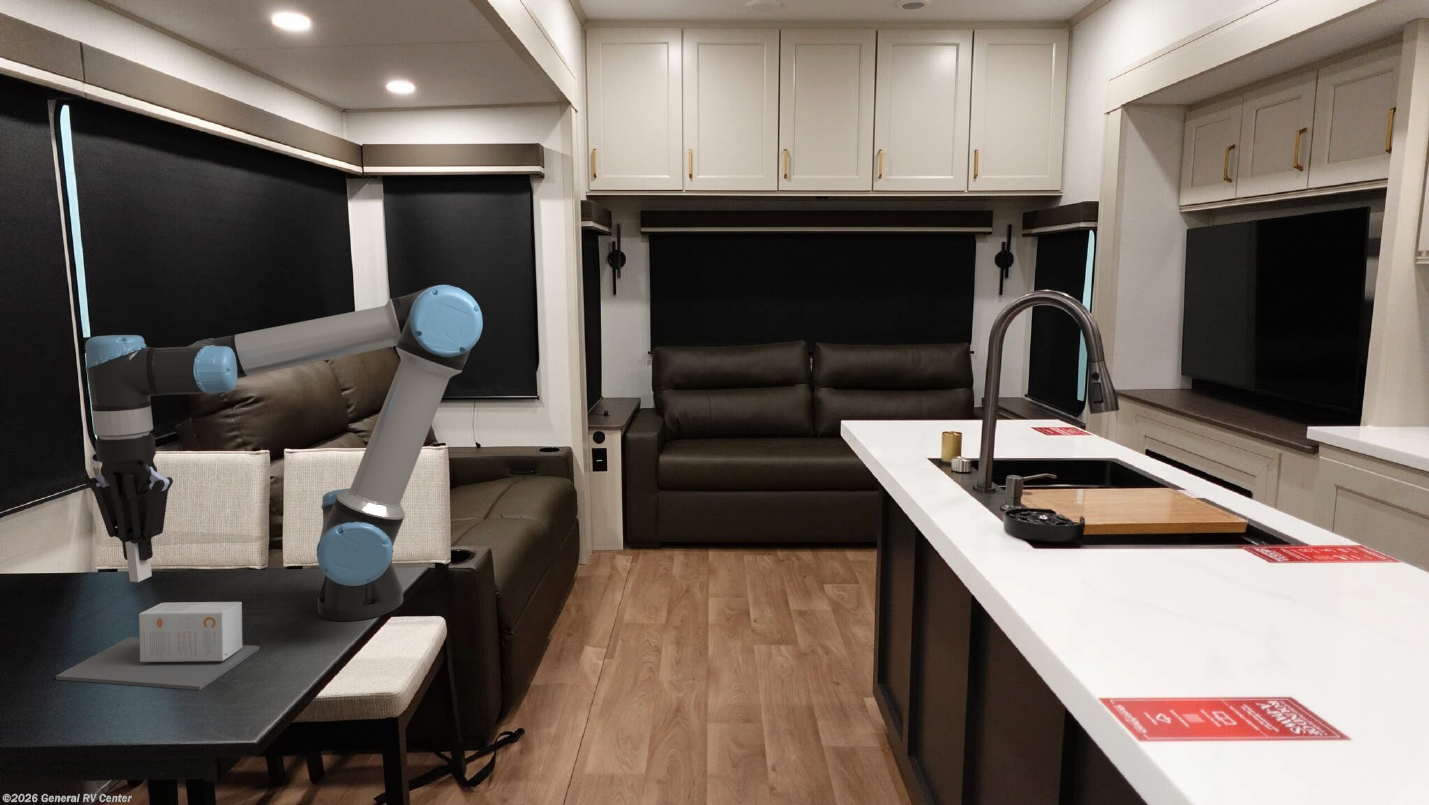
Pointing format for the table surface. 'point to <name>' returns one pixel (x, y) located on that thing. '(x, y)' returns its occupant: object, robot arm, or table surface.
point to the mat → (150, 668)
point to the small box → (190, 631)
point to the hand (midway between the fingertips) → (140, 578)
